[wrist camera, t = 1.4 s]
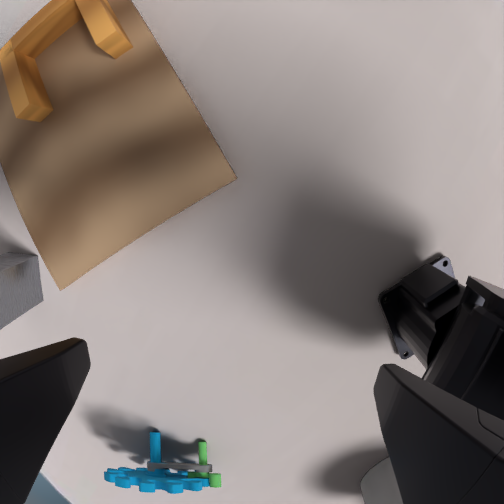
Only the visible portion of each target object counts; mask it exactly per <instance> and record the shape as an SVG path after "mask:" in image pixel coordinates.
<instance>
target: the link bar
mask: <svg viewBox="0 0 504 504" xmlns="http://www.w3.org/2000/svg"><path fill="white" fill-rule="evenodd" d="M42 301H43V295H42V288H41V280H40V272H39V263H38V256H36V255H27V254H19V253H10V252H8V253H5V254H2V255H0V329H2V328H3V327H5V326H6V325H8V324H9V323H11V322H12V321H13V320H15V319H16V318H18V317H19V316H21V315H22V314H24V313H25V312H27V311H28V310H30V309H31V308H33V307H34V306H36V305H37V304H39V303H40V302H42Z"/></svg>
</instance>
